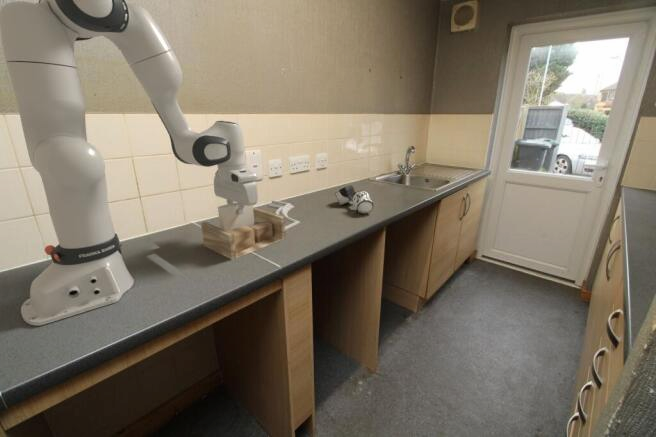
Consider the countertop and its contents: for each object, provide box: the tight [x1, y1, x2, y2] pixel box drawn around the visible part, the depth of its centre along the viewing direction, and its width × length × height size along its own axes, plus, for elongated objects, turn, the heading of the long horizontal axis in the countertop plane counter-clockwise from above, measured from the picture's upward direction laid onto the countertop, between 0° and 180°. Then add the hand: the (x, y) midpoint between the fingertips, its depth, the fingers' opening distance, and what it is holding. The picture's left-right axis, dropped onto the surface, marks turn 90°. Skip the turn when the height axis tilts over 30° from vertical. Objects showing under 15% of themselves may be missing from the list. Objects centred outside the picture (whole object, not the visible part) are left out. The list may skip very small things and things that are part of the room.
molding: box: [267, 199, 301, 231], centre depth 136 cm, size 42×12×3 cm, turn 14°
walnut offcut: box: [250, 222, 273, 243], centre depth 108 cm, size 6×4×5 cm, turn 140°
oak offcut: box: [228, 226, 255, 253], centre depth 101 cm, size 8×5×6 cm, turn 140°
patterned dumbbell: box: [334, 184, 374, 215], centre depth 147 cm, size 25×10×10 cm, turn 29°
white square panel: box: [217, 202, 255, 231], centre depth 107 cm, size 12×2×13 cm, turn 140°
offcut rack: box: [200, 207, 287, 261], centre depth 105 cm, size 22×16×10 cm
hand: (236, 212), depth 106 cm, fingers closed on white square panel, 2 cm apart
